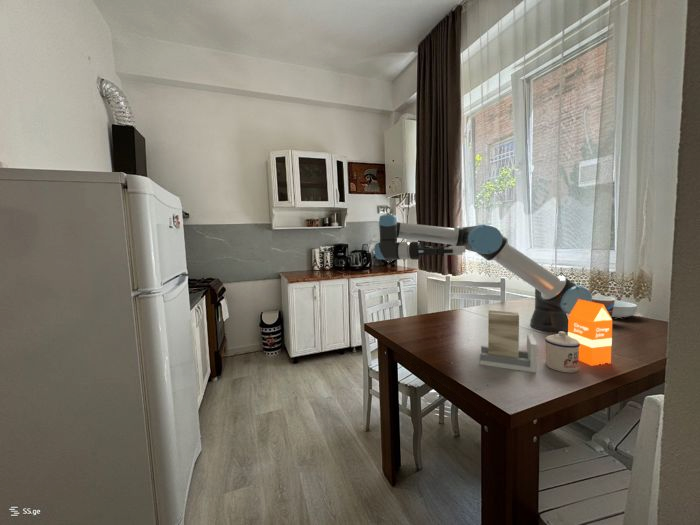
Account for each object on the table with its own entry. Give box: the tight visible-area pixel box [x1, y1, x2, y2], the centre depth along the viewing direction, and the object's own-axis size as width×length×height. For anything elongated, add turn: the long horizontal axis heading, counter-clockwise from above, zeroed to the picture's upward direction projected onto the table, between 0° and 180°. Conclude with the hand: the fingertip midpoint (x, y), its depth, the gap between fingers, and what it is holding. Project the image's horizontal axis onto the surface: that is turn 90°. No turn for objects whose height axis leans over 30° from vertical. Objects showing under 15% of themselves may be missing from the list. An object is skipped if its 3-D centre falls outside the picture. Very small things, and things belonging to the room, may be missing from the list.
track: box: [479, 332, 538, 374], centre depth 99 cm, size 16×11×9 cm
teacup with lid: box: [544, 331, 580, 374], centre depth 95 cm, size 12×9×12 cm
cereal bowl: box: [612, 300, 638, 318], centre depth 147 cm, size 17×17×7 cm
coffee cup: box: [592, 295, 617, 319], centre depth 138 cm, size 10×10×12 cm
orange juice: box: [567, 299, 613, 367], centre depth 99 cm, size 8×9×20 cm
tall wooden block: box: [487, 310, 520, 358], centre depth 99 cm, size 4×9×16 cm, turn 64°
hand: (464, 249), depth 114 cm, fingers open, 13 cm apart
